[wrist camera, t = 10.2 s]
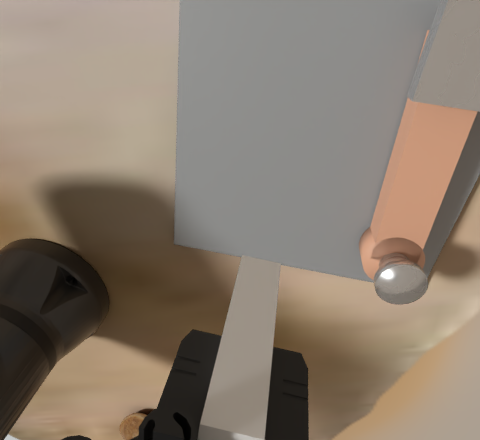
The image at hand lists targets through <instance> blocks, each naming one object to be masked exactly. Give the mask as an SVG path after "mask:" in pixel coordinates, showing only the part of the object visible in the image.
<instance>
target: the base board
mask: <svg viewBox="0 0 480 440" xmlns="http://www.w3.org/2000/svg"><path fill="white" fill-rule="evenodd" d="M439 1H440V0H180V15H179V57H178V98H177V139H176V181H175V222H174V244H176V245H181V246H186V247H191V248H196V249H202V250H207V251H212V252H217V253H222V254H228V255H233V256H238V257H242V255H244V256H249V257H253V258H258V259H262V260H267V261H272V262H276V263H281V265H285V266H290V267H295V268H300V269H306V270H311V271H316V272H321V273H326V274H332V275H337V276H342V277H347V278H352V279H358V280H363V281H368V282H373V283H374V280H372V279H371V278H369V277H368V276H367V274H366V273H365V271H364V269H363V265H362V260H361V255H360V251H359V241H360V238H361V236H362V234H363V233H364V232H365V231H366V230H367V229H368V228H369V227H370V226H371V222H372V219H373V215H374V212H375V208H376V205H377V202H378V198H379V195H380V191H381V188H382V184H383V181H384V178H385V174H386V171H387V167H388V164H389V160H390V157H391V154H392V150H393V147H394V143H395V140H396V136H397V133H398V129H399V126H400V123H401V119H402V116H403V112H404V109H405V105H406V102H407V99H408V97H407V94H408V91H409V88H410V85H411V82H412V79H413V76H414V74H415V71H416V68H417V64H418V61H419V57H420V54H421V50H422V47H423V44H424V40H425V37H426V33H427V30H430V27H431V25H432V22H433V19H434V16H435V13H436V10H437V7H438V4H439ZM479 175H480V112H479V111H478V112H477V114H476V117H475V119H474V122H473V124H472V127H471V129H470V132H469V135H468V137H467V140H466V142H465V145H464V147H463V150H462V152H461V155H460V157H459V160H458V162H457V165H456V167H455V170H454V172H453V175H452V177H451V180H450V183H449V185H448V188H447V190H446V193H445V195H444V198H443V200H442V203H441V205H440V208H439V210H438V213H437V215H436V218H435V220H434V223H433V225H432V228H431V231H430V233H429V236H428V238H427V241H426V243H425V246H424V248H423V252H424V254H425V264H424V267H423V271H424V273H425V275H426V277H427V278H428V276H429V274H430V272H431V270H432V268H433V266H434V264H435V262H436V260H437V258H438V256H439V254H440V252H441V250H442V248H443V246H444V244H445V242H446V240H447V238H448V236H449V234H450V232H451V230H452V228H453V226H454V224H455V222H456V220H457V218H458V216H459V214H460V212H461V210H462V208H463V206H464V204H465V202H466V200H467V198H468V196H469V194H470V192H471V190H472V188H473V186H474V185H475V183H476V181H477V179H478V177H479Z"/></svg>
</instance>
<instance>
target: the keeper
mask: <svg viewBox="0 0 480 440" xmlns="http://www.w3.org/2000/svg"><path fill="white" fill-rule="evenodd" d="M407 97H408V98H409V99H410V100H411V101H413V102H420V103H426V104H433V105H439V106H446V107H452V108H459V109H466V110H472V111H479V112H480V0H440V1H439V4H438V7H437V10H436V13H435V16H434V19H433V22H432V25H431V27H430V30H429V33H428V36H427V39H426V42H425V45H424V48H423V50H422V53H421V56H420V59H419V62H418V65H417V68H416V71H415V74H414V76H413V79H412V82H411V85H410V88H409V91H408V94H407Z"/></svg>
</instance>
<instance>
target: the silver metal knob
mask: <svg viewBox="0 0 480 440" xmlns="http://www.w3.org/2000/svg"><path fill="white" fill-rule="evenodd" d="M374 286H375V290H376V293H377V294H378V296H379V297H380V298H381V299H383V300H384V301H386V302H388V303H392V304H407V303H411V302H414V301H416V300H418V299H419V298H421V297H422V296H423V295H424V294H425V292H426V290H427V288H428V280H427V277H426V275H425V273H424V271H423V269H422V268H421V267H420V266H419V265H418V264H416V263H414V262H411V261H410V260H409V258H408V257H407V256H405V255H404V254H401V253H390V254H387V255H385V256H384V257H382V259H381V260H380V261H379V269H378V270H377V272H376V273H375V276H374Z"/></svg>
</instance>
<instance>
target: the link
mask: <svg viewBox="0 0 480 440" xmlns="http://www.w3.org/2000/svg"><path fill="white" fill-rule="evenodd" d="M428 33H429V30H427V33H426V37H425V40H424V44H423V47H422V50H423V48H424V45H425V42H426V39H427V36H428ZM422 50H421V53H422ZM420 56H421V54H420ZM419 59H420V57H419ZM418 62H419V61H418ZM417 65H418V64H417ZM477 112H478V111H472V110H466V109H459V108H452V107H446V106H439V105H433V104H426V103H420V102H413V101H411V100H410V99H409V98H408V99H407V102H406V105H405V109H404V112H403V116H402V119H401V123H400V126H399V129H398V133H397V136H396V140H395V143H394V147H393V150H392V154H391V157H390V160H389V164H388V167H387V171H386V174H385V178H384V181H383V184H382V188H381V191H380V195H379V198H378V202H377V205H376V208H375V212H374V215H373V219H372V222H371V226H370V227H369V228H368V229H367V230H366V231H365V232H364V233H363V234H362V236H361V238H360V241H359V251H360V255H361V260H362V265H363V269H364V271H365V273H366V274H367V276H368V277H369V278H371V279H372V280H374V276H375V273H376V272H377V270H378V269H379V261H380V260H381V259H382V257H384V256H385V255H387V254H390V253H401V254H404V255H405V256H407V257H408V258H409V260H410V261H411V262H414V263H416V264H418V265H419V266H420V267H421V268H422V269H423V267H424V264H425V254H424V252H423V248H424V246H425V243H426V241H427V238H428V236H429V233H430V231H431V228H432V225H433V223H434V220H435V218H436V215H437V213H438V210H439V208H440V205H441V203H442V200H443V198H444V195H445V193H446V190H447V188H448V185H449V183H450V180H451V177H452V175H453V172H454V170H455V167H456V165H457V162H458V160H459V157H460V155H461V152H462V150H463V147H464V145H465V142H466V140H467V137H468V135H469V132H470V129H471V127H472V124H473V122H474V119H475V117H476V114H477Z"/></svg>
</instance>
